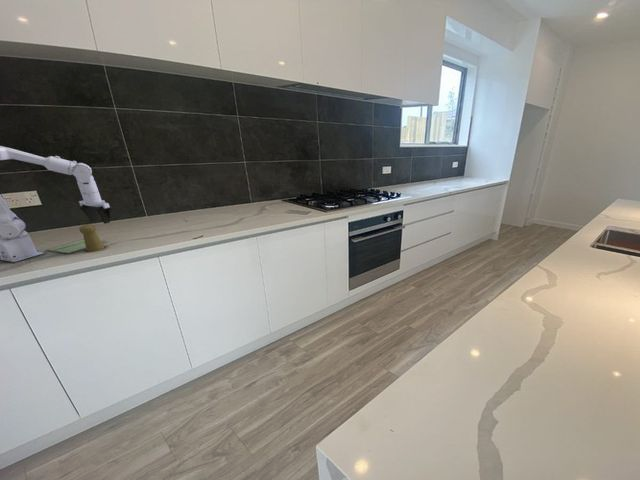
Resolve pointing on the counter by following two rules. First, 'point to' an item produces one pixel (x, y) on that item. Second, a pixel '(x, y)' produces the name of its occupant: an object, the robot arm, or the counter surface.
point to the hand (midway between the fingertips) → (100, 222)
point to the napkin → (70, 247)
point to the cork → (91, 238)
